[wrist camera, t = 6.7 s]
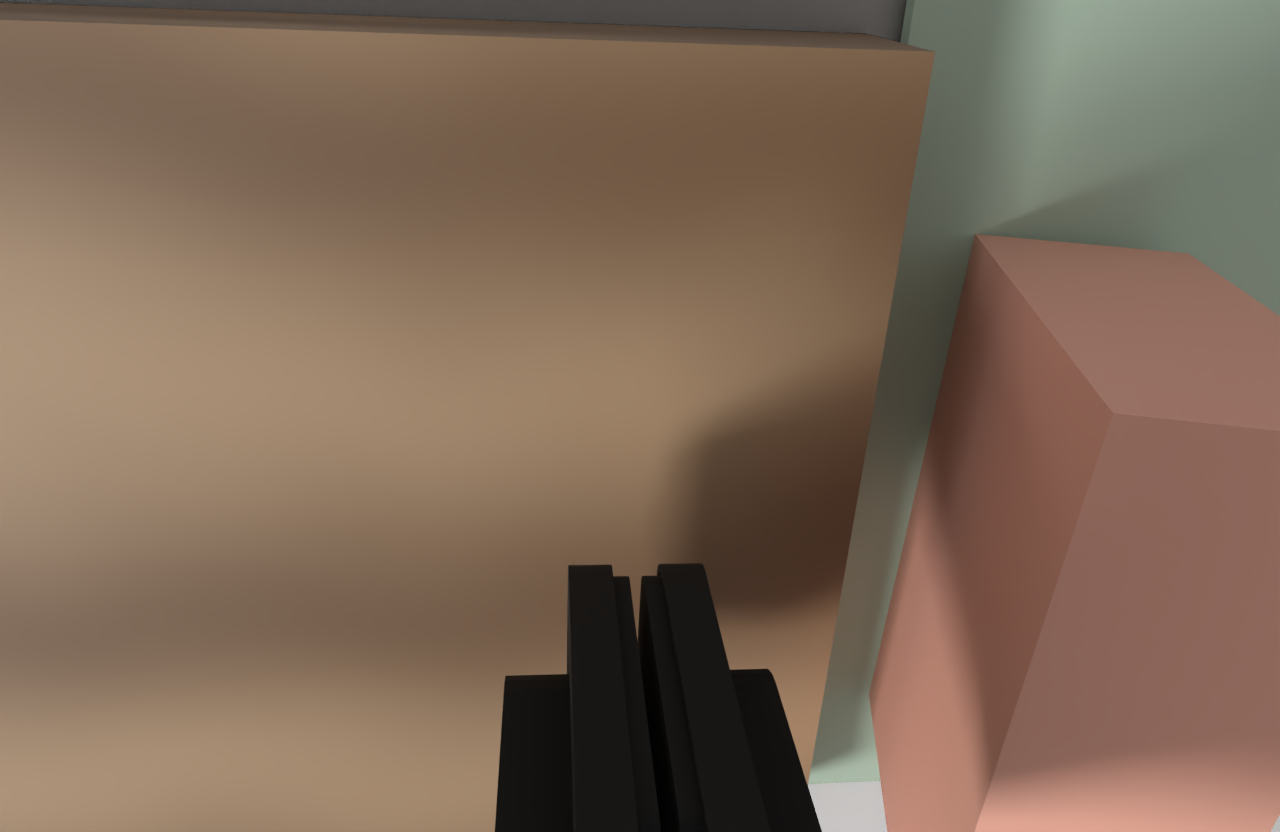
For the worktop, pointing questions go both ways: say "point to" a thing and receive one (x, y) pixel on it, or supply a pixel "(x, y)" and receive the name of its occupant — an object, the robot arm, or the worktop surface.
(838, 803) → the worktop surface
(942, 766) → the pink rectangular block
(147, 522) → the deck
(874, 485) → the mat
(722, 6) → the worktop surface
